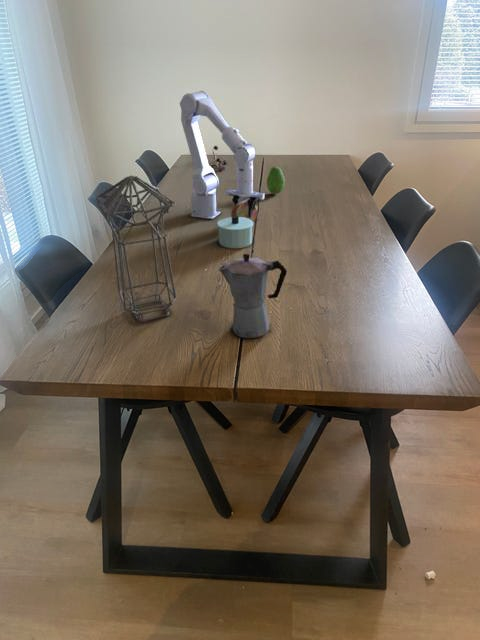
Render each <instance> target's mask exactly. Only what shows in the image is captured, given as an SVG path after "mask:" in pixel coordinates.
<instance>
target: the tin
mask: <svg viewBox="0 0 480 640" xmlns="http://www.w3.org/2000/svg"><path fill="white" fill-rule="evenodd" d="M249 199H250V198H246V199H244V200H242V202H240V203H237V204H236V205H235V204H234V205H233V207H232V209H231V211H230V215H231V216H230V217H232V216H234V215H236V216H239V217H244V218H248V219H250V220H252V221H253V222H254V221H256V219H257V218H258V215H259V212H260V204H259V200H258V201H257V203H256V205H255V207H254V211H253V215H252V217H251V218H249V207H248V200H249Z"/></svg>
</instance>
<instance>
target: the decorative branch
mask: <svg viewBox="0 0 480 640" xmlns="http://www.w3.org/2000/svg"><path fill="white" fill-rule="evenodd" d="M213 150H214V151H212V154H211V157H212V158H213V160H214V161H212V163H213V164H214V165H213V166H210V167H211V168H212V169H214V170H215V167H216V168H217V169H218V172H219V173H221V172H224V170H225V169H226V167H225V166H224V165H227V164H228V161H227V160H226V159H223V160H221V159H222V157H221V156H219V155H218V153H215V151H218V150H219V147H218V145H214V146H213Z"/></svg>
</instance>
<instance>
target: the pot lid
mask: <svg viewBox="0 0 480 640" xmlns="http://www.w3.org/2000/svg"><path fill="white" fill-rule="evenodd" d="M253 226H254V221H252V220H250V219H248V218H244V217H239V216H236V215H234V216H232V217H231V216H228V217H224V218H221V219H219V220H218V221H217V227H218V229H219V228H221V229H224V230H229V231H240V230H246V229H249V228H251V227H252V228H253Z"/></svg>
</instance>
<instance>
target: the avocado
mask: <svg viewBox="0 0 480 640" xmlns="http://www.w3.org/2000/svg"><path fill="white" fill-rule="evenodd" d="M285 184H286V180H285V175H284V174H283V171H282V169H281V168H280V167H279V166H276V165H275V166H273V167H272V168H270V171H269V172H268V176H267V179H266V187H267V190H268V192H269V193H270V194H273V195H277V194H280V193H281V192H282V191H283V190H284V187H285Z"/></svg>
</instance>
